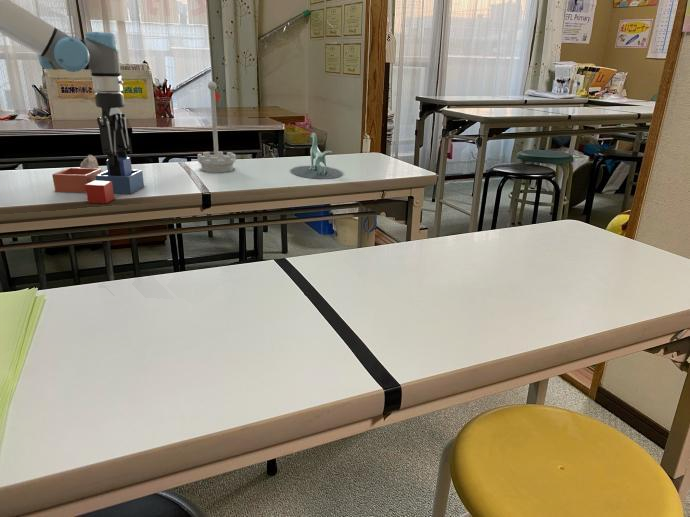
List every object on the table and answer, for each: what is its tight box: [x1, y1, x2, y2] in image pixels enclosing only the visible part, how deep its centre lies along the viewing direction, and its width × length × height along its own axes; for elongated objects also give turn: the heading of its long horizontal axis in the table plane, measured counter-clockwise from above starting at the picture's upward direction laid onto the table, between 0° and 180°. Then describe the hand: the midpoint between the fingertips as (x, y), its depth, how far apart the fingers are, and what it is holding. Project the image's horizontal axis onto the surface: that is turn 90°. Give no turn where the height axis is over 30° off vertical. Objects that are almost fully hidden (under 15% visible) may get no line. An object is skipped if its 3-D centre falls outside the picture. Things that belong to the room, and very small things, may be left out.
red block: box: [85, 181, 115, 204], centre depth 140 cm, size 5×5×5 cm
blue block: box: [105, 156, 133, 176], centre depth 151 cm, size 5×5×5 cm
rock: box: [79, 154, 105, 173], centre depth 165 cm, size 6×14×7 cm, turn 38°
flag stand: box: [197, 80, 236, 173], centre depth 179 cm, size 13×13×30 cm
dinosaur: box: [290, 132, 343, 180], centre depth 182 cm, size 25×18×13 cm
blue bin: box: [96, 169, 145, 195], centre depth 152 cm, size 10×10×5 cm
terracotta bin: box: [51, 167, 103, 194], centre depth 153 cm, size 10×10×5 cm
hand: (119, 174), depth 152 cm, fingers closed on blue block, 5 cm apart
